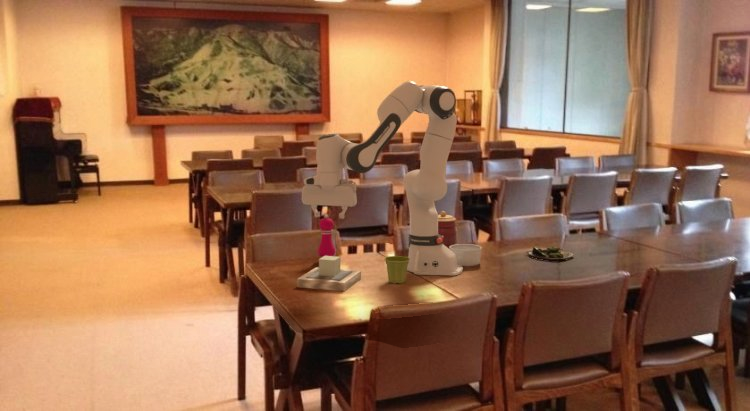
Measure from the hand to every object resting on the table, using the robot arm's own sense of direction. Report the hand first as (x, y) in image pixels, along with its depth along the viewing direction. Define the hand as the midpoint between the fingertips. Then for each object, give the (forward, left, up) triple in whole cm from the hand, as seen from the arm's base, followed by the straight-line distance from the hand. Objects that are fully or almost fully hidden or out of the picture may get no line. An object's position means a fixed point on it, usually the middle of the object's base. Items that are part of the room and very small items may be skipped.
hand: (329, 217), depth 244 cm
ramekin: (-42, -45, -24) cm, 66 cm away
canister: (-28, -67, -24) cm, 76 cm away
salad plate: (-74, -67, -25) cm, 103 cm away
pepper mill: (+13, -30, -24) cm, 41 cm away
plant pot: (-23, -9, -24) cm, 35 cm away
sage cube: (0, 0, -21) cm, 21 cm away
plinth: (0, 0, -24) cm, 24 cm away
